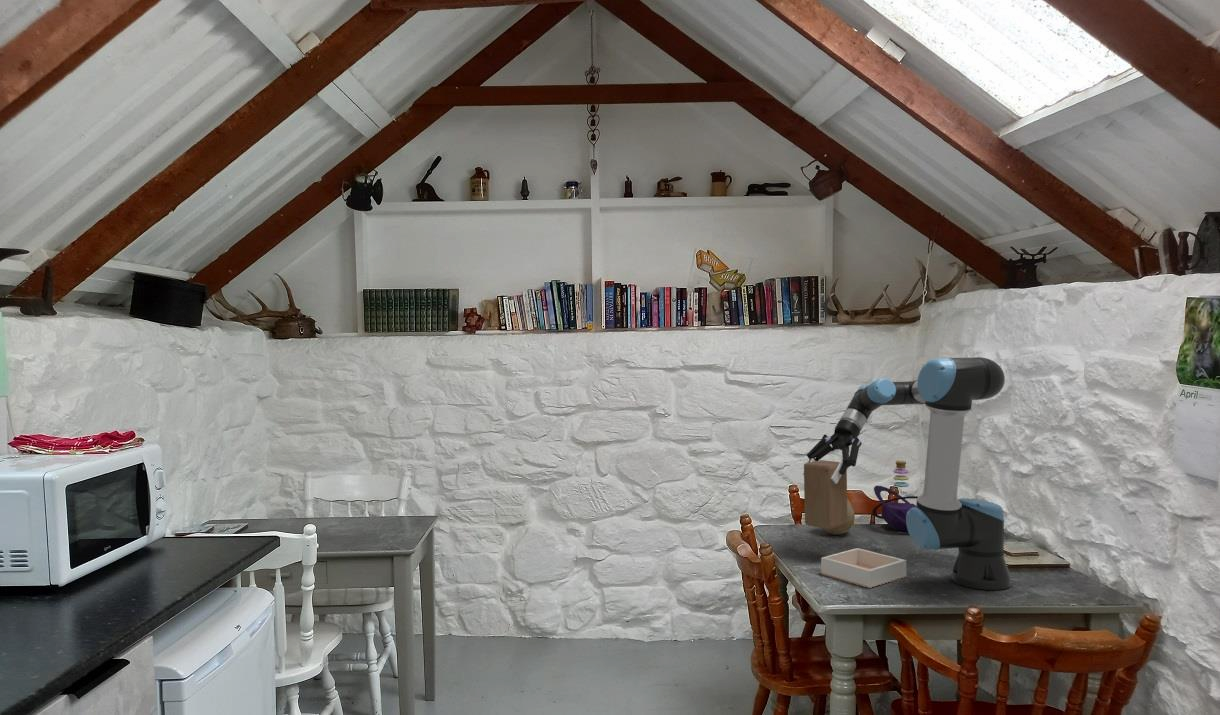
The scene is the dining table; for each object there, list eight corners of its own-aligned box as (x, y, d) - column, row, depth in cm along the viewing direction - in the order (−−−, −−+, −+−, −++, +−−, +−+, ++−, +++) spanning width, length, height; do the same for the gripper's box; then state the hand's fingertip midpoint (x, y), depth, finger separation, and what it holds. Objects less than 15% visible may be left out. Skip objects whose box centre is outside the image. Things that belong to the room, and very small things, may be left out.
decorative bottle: (926, 539, 265) (926, 467, 265) (864, 532, 276) (863, 463, 276) (936, 525, 285) (936, 458, 284) (878, 519, 295) (877, 455, 295)
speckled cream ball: (810, 533, 276) (809, 492, 276) (832, 528, 284) (831, 487, 283) (840, 540, 266) (839, 497, 266) (862, 534, 274) (861, 492, 273)
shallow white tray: (906, 577, 224) (906, 560, 224) (870, 588, 214) (870, 571, 214) (857, 564, 238) (857, 548, 238) (821, 574, 228) (821, 557, 228)
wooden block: (830, 530, 238) (829, 466, 238) (803, 525, 246) (802, 462, 245) (848, 525, 244) (847, 462, 244) (822, 520, 252) (821, 459, 252)
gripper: (885, 436, 244) (855, 491, 235) (827, 430, 263) (796, 481, 254) (875, 420, 241) (843, 476, 232) (816, 416, 260) (785, 467, 251)
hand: (819, 479), depth 243 cm, fingers closed on wooden block, 10 cm apart
